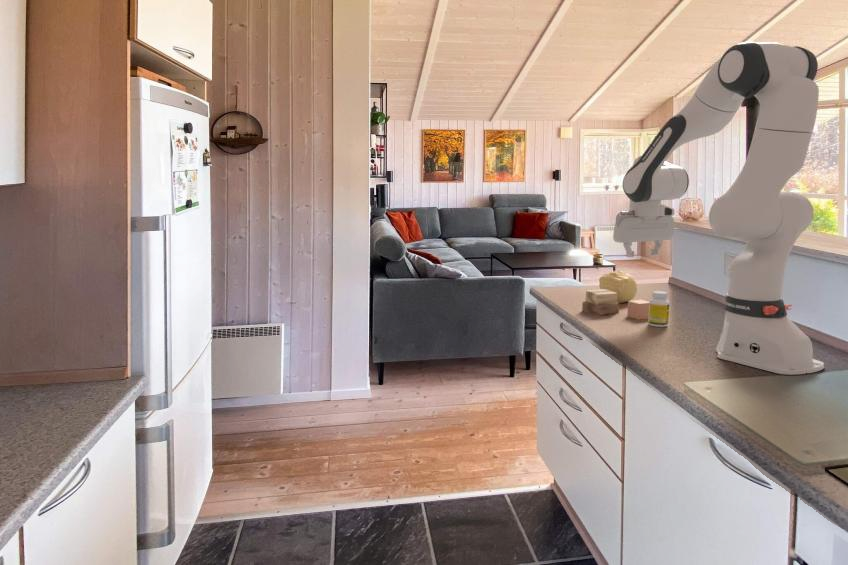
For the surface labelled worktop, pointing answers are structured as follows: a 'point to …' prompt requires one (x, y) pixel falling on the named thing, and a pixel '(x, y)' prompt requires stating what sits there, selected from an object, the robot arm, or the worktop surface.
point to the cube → (638, 309)
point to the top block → (601, 297)
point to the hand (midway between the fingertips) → (642, 256)
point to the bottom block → (600, 308)
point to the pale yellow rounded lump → (619, 285)
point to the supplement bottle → (658, 309)
